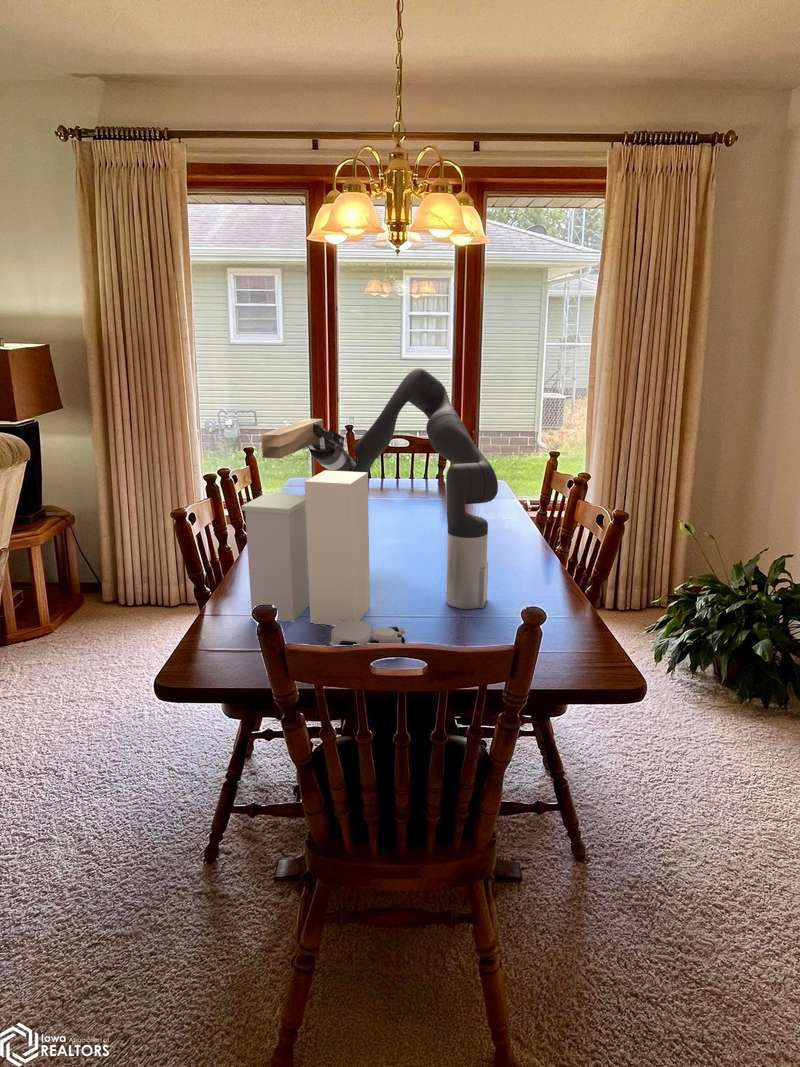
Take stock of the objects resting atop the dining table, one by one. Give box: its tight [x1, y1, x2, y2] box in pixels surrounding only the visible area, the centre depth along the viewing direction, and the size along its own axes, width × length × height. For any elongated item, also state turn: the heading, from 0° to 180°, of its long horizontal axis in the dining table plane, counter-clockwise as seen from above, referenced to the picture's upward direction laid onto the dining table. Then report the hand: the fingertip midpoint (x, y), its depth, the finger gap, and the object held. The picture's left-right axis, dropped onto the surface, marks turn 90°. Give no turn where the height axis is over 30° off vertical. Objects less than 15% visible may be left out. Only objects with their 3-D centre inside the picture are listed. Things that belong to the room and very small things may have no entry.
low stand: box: [241, 492, 310, 622], centre depth 161 cm, size 11×13×26 cm
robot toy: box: [329, 618, 406, 646], centre depth 145 cm, size 12×4×15 cm
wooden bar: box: [261, 418, 324, 459], centre depth 164 cm, size 4×26×5 cm, turn 165°
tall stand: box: [304, 469, 371, 626], centre depth 157 cm, size 10×12×32 cm
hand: (305, 427), depth 170 cm, fingers closed on wooden bar, 4 cm apart
